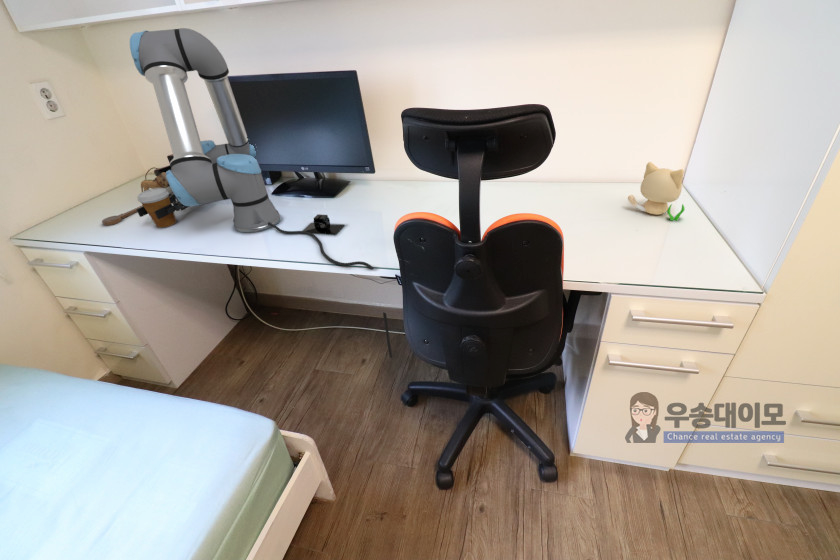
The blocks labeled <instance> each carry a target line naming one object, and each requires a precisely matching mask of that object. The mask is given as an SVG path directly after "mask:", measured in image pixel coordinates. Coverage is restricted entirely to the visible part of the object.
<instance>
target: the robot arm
mask: <svg viewBox="0 0 840 560" xmlns="http://www.w3.org/2000/svg"><path fill="white" fill-rule="evenodd" d="M129 50H130V54H131V57H132V60H133V63H134V66H135V68H136V70H137V71H138V73H139V74H140V75H141V76H143V77H145V79H146V81H147V82H149V83H151V84H152V87H153V89H154V93H155V97H156V100H157V103H158V107H159V110H160V114H161V118H162V122H163V125H164V128H165V131H166V134H167V135H166V136H167V139H168V142H169V146H170V149H171V152H172V156H173V158H172V159H171V160H170V161H169V166H170V169H168V170H167V171H166V172H165V173H166V177H167V180H168V183H169V184H168V186H170V189H171V191H170V192H169V199H170V203H171V204H169V205H167V206H165V207H163V208H161V209H159V210H156V211H154V212H155V214H156V216H157V218H158V219H160V218H162V217H164V216H166V215H168V214H170V213H172V212H173V213H174V212H178V211H180V212H181V211H182V212H183V211H185V210H186V209H188V208H190V207H193V206H194V207H195V206H201V205H205V204H210V203H216V202H221V201H226V200H227V201H228V200H230V201H231V203H232V207H233V219H232V222H233V226H234V228H235V231H237V232H240V233H243V234H250V233H258V232H262V231H266V230H268V229H271V228H273V229H275V230H276V231H278V232H279V233H281V234H286V235H298V234H300V235H301V234H304V235H307V236H311V237H312V238H313V239H314V240H315V241H316V242H317V244H318V246H319V250H320V253H321V254H322V255H323V256H324V258H325V259H327V260H328V261H329V262H331V263H332V264H334V265H337V266H339V267H340V266H342V267H351V266H356V265H357V266H358V265H360V266H365V267H367V268H368V269H369V270H375V268H374V267H373V266H372V265H371V264H369V263H368V262H365V261H359V260H357V261H349V262H342V261H341V262H340V261H338V260H335V259H333V258H332V257H330V256H329V255H328V254H327V253H326V252H325V250H324V246H323V243H322V241H321V240H320V239H319V237H318V236H317V235H316V234H312V233H310V232H307V231H303V230H284V229H281V228H279V227H278V226H277V225H278V224H279V223H280V222H281V215H280V212H279V210H277V208H276V206H275V205H274V203H273V202H272V201H271V199H270V197H269V194H268V191H267V188H266V184H265V181H264V178H263V174H262V169H261V168H260V164H259V161H258V160H257V159H255V158H254V157H255V156H256V151H255V148H254V146H253V145H251V144H249V142H248V140H249V138H247V137H248V134H247V131H246V127H245V125H244V122H243V118H242V116H241V113H240V109H239V108H238V104H237V101H236V99H235V95H234V92H233V89H232V86H231V83H230V80H229V77H228V76H229V74H230V71H229V66H228V64H227V61H226V60H225V58H224V55H223V54H222V53H221V51H220V50H219V49H218V47H216V45H215V44H214V43H213V42H212V41H211V40H210V39H209V38H207V37H206V36H204V34H202V33H200V32H198V31H196V30H195V29H191V28H186V27H180V28H173V29H161V30H142V31H138V32H133V33H132V34H131V35H130V37H129ZM195 71H196V72H197V74H198V77H199V78H200V79H202V80H203V81H204V83H205V86H206V89H207V91H208V95H209V96H210V99H211V102H212V104H213V107H214V110H215V112H216V115H217V117H218V121H219V123H220V125H221V128H222V131H223V133H224V135H225V139H226V141H227V143H222V144H221V143H220V144H216V143H215V142H214V140H212V139H211V140H209V139H208V140H201V138H200V135H199V131H198V127H197V124H196V121H195V120H196V119H195V116H194V114H193V109H192V106H191V102H190V99H189V95H188V92H187V89H186V88H187V87H186V85H185V83H186V82H187V81H188V79H189V77H188V72H195ZM136 210H137V212H136V213H137V214H138V215H139V217H141V218H142V217H144V216H146V215H149V214H148V212H147V211H146V209H145V208H144V206H143V207H141V208H138V209H136ZM382 316H383V323H384V329H385V337H386V343H387V350H388V355H389V358H390V359H392V358H393V353H392V346H391V340H390V331H389V324H388V318H387V313H386V312H382Z"/></svg>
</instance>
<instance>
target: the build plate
mask: <svg viewBox="0 0 840 560" xmlns="http://www.w3.org/2000/svg"><path fill="white" fill-rule="evenodd" d="M345 226H346V225H345V224H343V223H342V224H341V223H331V221H330V218H329V216H328V214H316V215H315V216H314V217H313V222H310V223H309V224H308V225H307V226H306V227H305V228H304V229H303V230H302V231H307V232H310V233H312V234H314V235H325V236H326V235H330V236H337V235H338V234H339V232H341V231H342V229H343V228H344V227H345Z"/></svg>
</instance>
